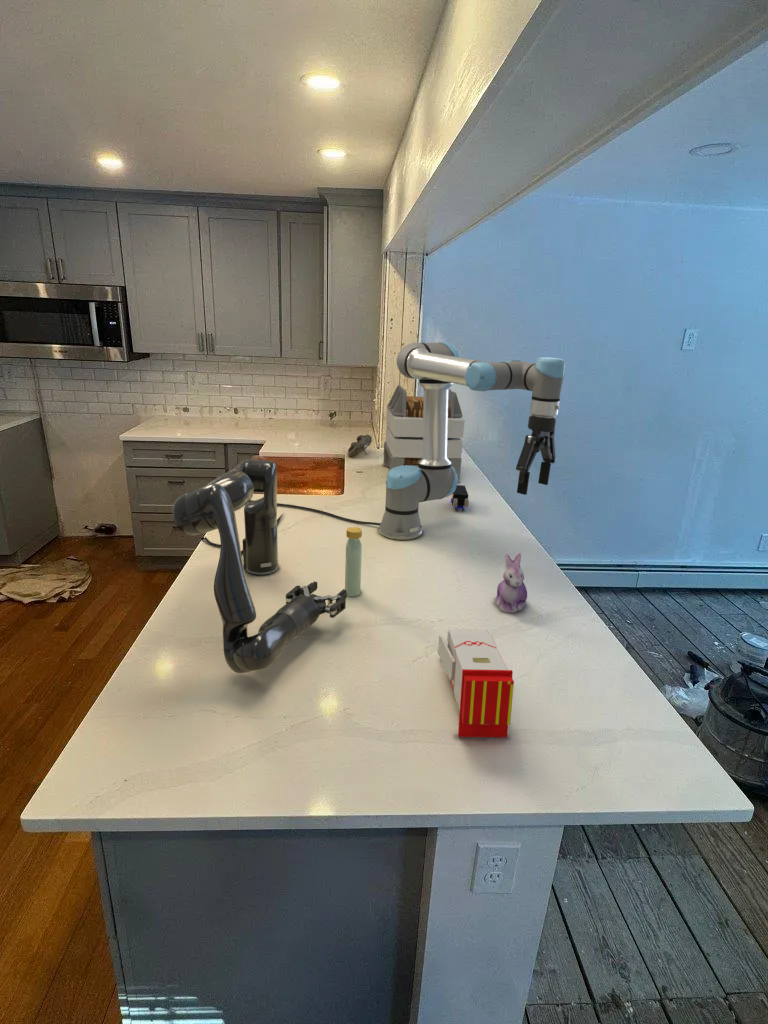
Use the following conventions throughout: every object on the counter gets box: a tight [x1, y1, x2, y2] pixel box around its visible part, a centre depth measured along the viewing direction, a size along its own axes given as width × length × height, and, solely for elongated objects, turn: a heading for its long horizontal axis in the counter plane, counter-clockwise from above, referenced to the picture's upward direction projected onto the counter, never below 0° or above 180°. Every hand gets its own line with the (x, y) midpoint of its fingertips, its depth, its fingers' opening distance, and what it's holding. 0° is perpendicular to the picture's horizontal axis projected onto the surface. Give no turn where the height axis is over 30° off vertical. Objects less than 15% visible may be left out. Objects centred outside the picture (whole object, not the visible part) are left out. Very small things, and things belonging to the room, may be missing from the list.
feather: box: [277, 513, 284, 525], centre depth 210 cm, size 2×28×2 cm
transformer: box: [383, 384, 465, 484], centre depth 268 cm, size 34×33×41 cm
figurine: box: [495, 552, 528, 614], centre depth 152 cm, size 9×10×15 cm
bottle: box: [344, 538, 363, 597], centre depth 154 cm, size 4×4×18 cm
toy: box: [437, 628, 515, 738], centre depth 117 cm, size 12×13×30 cm
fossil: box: [347, 434, 373, 459], centre depth 304 cm, size 22×10×15 cm
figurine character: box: [449, 484, 470, 512], centre depth 229 cm, size 7×8×15 cm
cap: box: [346, 526, 363, 539], centre depth 151 cm, size 4×4×2 cm
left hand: (330, 588), depth 145 cm, fingers open, 8 cm apart
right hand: (532, 488), depth 164 cm, fingers open, 13 cm apart
